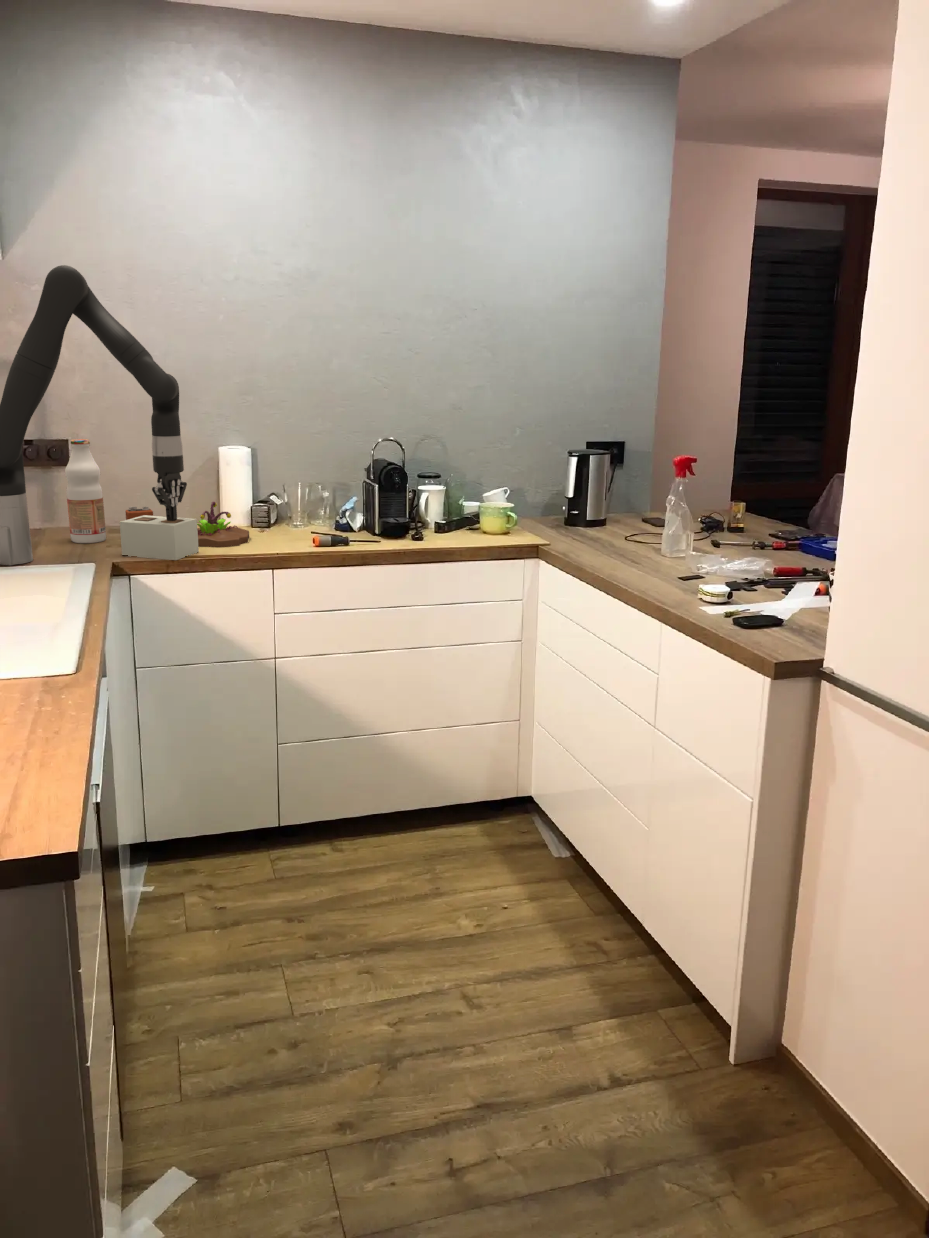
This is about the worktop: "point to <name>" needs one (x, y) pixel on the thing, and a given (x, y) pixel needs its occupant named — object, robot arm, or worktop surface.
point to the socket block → (159, 538)
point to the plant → (219, 531)
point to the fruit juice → (84, 495)
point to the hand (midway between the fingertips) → (172, 520)
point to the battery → (138, 512)
